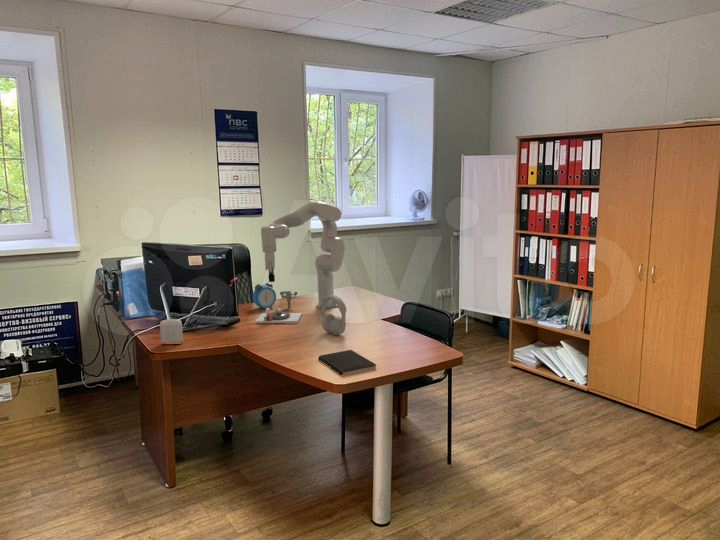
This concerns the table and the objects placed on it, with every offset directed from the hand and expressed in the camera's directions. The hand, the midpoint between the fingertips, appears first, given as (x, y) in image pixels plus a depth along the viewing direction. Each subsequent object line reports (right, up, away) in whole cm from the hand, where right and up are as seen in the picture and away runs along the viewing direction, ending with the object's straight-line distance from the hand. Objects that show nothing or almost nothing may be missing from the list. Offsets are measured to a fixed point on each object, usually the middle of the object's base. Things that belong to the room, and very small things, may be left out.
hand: (271, 281), depth 306 cm
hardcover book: (+43, -34, -73) cm, 91 cm away
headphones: (+36, -26, -29) cm, 53 cm away
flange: (+3, -20, -1) cm, 20 cm away
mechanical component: (+6, -17, +27) cm, 33 cm away
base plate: (+4, -21, +1) cm, 22 cm away
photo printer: (-42, -30, -40) cm, 65 cm away
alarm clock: (-9, -17, +29) cm, 35 cm away
